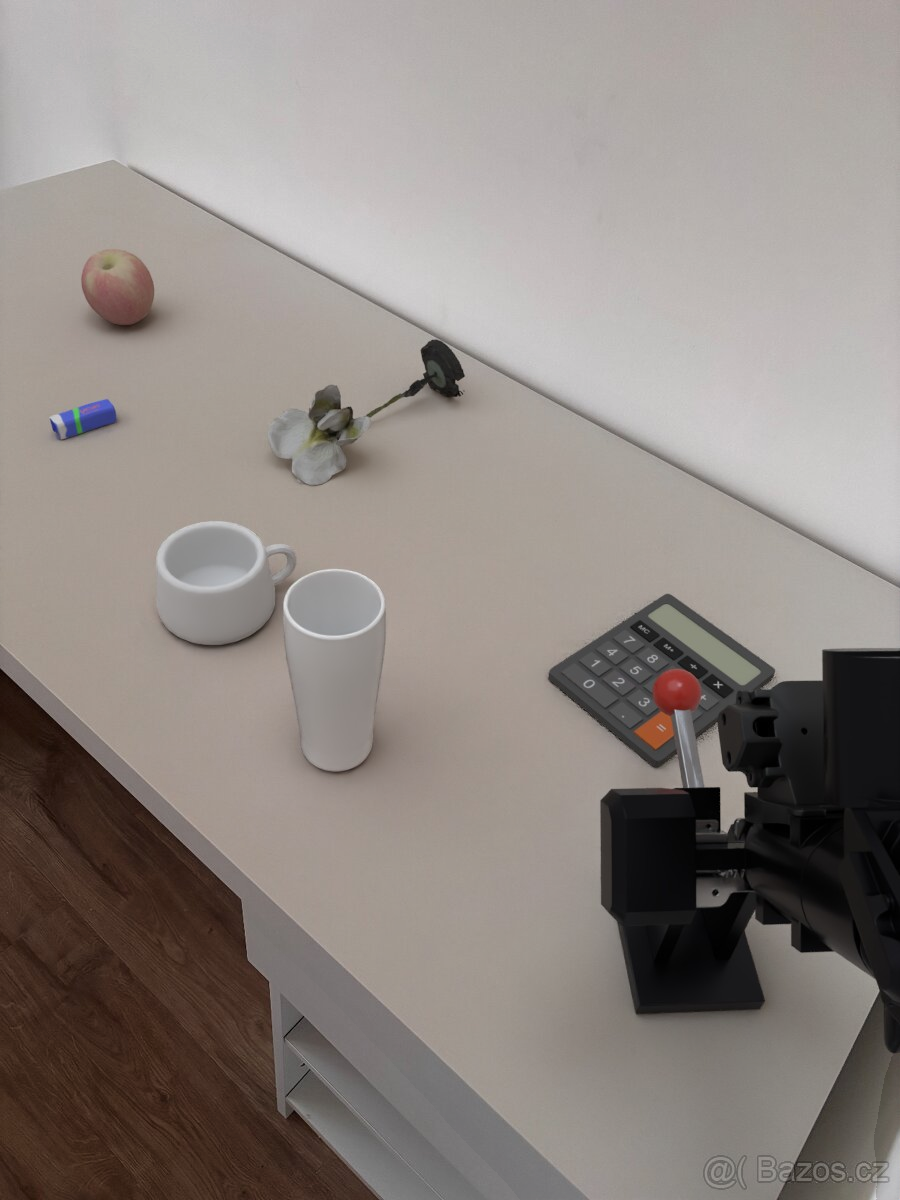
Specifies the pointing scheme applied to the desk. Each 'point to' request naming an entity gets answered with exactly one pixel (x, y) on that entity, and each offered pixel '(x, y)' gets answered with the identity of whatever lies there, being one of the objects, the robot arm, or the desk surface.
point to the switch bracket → (695, 960)
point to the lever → (682, 720)
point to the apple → (118, 286)
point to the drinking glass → (335, 663)
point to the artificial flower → (348, 419)
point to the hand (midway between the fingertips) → (731, 819)
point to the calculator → (657, 674)
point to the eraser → (83, 419)
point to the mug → (217, 582)
